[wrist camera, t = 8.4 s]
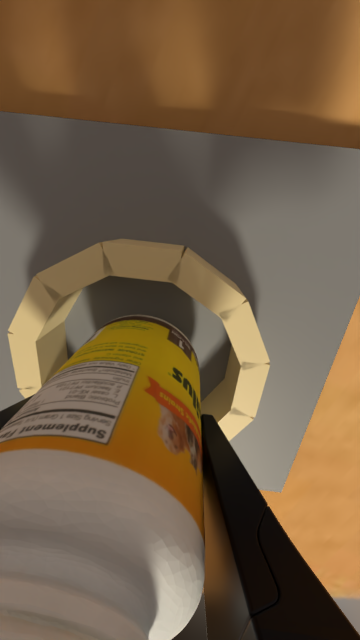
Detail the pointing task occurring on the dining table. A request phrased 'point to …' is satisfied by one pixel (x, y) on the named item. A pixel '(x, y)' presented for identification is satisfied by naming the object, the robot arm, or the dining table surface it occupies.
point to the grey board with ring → (182, 263)
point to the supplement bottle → (106, 492)
